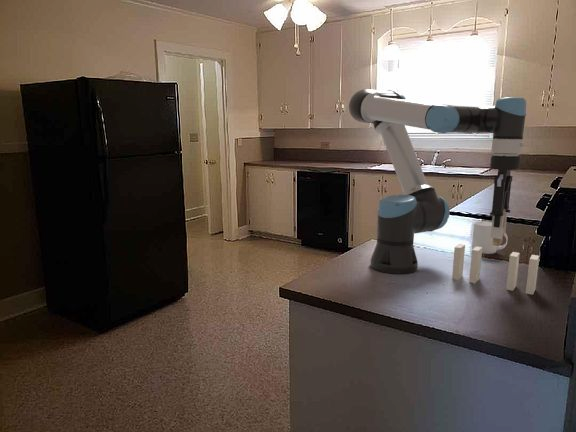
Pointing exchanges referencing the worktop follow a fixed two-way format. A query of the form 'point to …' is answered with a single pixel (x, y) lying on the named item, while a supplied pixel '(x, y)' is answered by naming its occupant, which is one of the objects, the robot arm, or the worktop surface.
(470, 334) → the worktop surface
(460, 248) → the tile
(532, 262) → the tile
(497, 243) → the tile
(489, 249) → the mug
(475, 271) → the tile
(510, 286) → the tile
